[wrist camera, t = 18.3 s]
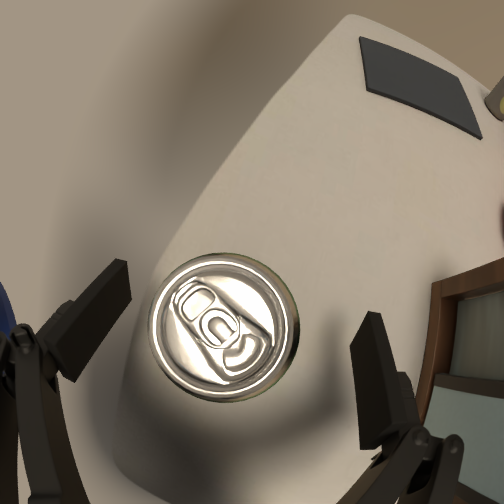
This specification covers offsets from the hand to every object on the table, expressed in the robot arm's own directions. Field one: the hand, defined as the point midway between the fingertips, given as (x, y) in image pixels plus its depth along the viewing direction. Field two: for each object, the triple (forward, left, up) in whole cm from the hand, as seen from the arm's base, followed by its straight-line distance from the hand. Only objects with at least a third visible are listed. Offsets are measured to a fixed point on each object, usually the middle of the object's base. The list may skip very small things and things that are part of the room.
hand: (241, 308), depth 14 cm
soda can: (0, -1, -6) cm, 6 cm away
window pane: (+16, -7, -4) cm, 18 cm away
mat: (+18, +33, -5) cm, 38 cm away
